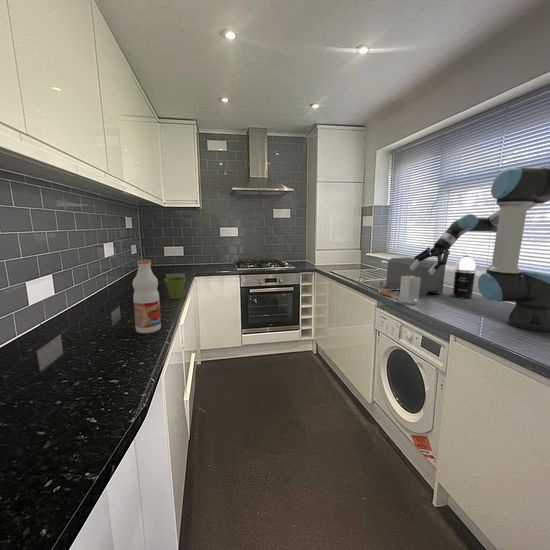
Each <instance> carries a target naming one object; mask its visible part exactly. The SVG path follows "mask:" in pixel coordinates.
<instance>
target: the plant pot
mask: <svg viewBox="0 0 550 550" xmlns="http://www.w3.org/2000/svg"><path fill="white" fill-rule="evenodd" d="M186 280H187V278H186V277H184V276H171V277H166V278H164V279H163V281H164V282H165V285H166V288H167V292H168V295H169V299H170V300H176V299H177V300H180V299H183V297H184V290H185V289H184V288H185V282H186Z"/></svg>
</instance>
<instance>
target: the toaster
mask: <svg viewBox="0 0 550 550" xmlns="http://www.w3.org/2000/svg"><path fill="white" fill-rule="evenodd" d="M419 260H420V259H419ZM414 261H415V258H414V257H392V258H390V259H389V260H388V261H387V268H386V282H385V287H386V288H387V289H391V290H394V289H399V290H400V285H401V276H415V277H420V278H421V279H420V290H419V298H420V297H421V298H424V297H426V296H427V295H428V293H430V294H435V295H438V294H439V295H440V294H441V295H443V291H444V283H445V281H444V280H445V274H446V272H445V271H446V265H442V266H440V267H439V268H438V269H437V270H436V271H435V272H434V273H433V274H432V275H431V274H430V273H429V270H430V269H431V267H432V266H433V265H434V264H435V263H436V262H437V261H438V260H430V259H424V260H422V261H420V263H419V264H418V266H417V267H416V268H415V269H414V270H413V271H412V270H411V269H410V266H411V265H412V264H413V262H414ZM437 263H438V262H437ZM439 295H438V296H439ZM441 295H440V296H441Z"/></svg>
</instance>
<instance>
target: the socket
mask: <svg viewBox="0 0 550 550" xmlns="http://www.w3.org/2000/svg"><path fill="white" fill-rule="evenodd" d="M420 279H421V278H420V277H415V276H401V285H400V291H399V295H400V298H403V299H406V300H418V301H419V299H420V296H419V290H420Z"/></svg>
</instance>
